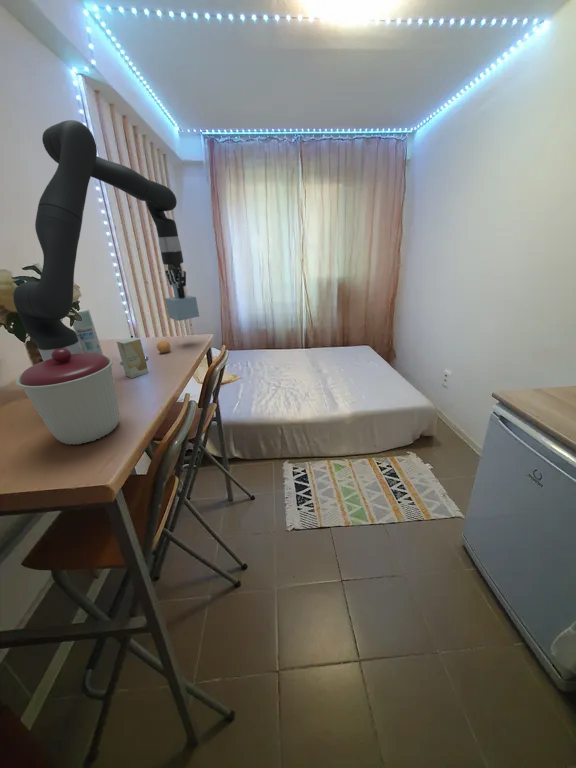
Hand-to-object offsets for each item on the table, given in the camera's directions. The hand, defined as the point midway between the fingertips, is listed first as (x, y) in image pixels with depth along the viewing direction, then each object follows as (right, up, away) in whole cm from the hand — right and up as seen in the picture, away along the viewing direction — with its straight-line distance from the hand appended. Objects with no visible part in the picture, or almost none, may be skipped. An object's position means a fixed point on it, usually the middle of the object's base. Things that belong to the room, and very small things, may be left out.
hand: (180, 296), depth 126 cm
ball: (-7, -20, +1) cm, 21 cm away
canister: (-4, -47, -50) cm, 68 cm away
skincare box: (-9, -32, -18) cm, 37 cm away
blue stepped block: (0, -7, +3) cm, 8 cm away
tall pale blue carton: (-31, -27, -4) cm, 41 cm away
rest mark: (-16, -26, -5) cm, 31 cm away
